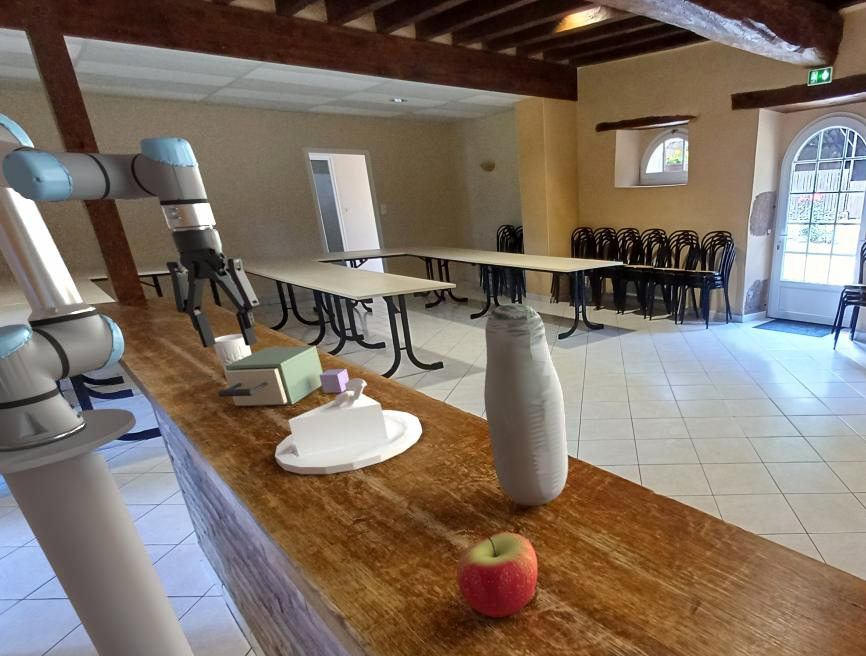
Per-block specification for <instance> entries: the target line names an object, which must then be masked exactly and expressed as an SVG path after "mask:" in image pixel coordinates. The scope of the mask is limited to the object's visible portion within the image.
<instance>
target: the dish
mask: <svg viewBox="0 0 866 656" xmlns="http://www.w3.org/2000/svg"><path fill="white" fill-rule="evenodd" d="M367 385H368V384H367V382H366V381H365V380H364V379H363V378H361V377H354V378H352V379H349V381H348V382H347V383H345V387H346V390H344V391H343V392H340V393H338V395H336V396H335V397H334V398H335V399H334V400H332V401H330V402H327V403H325V404H323V405H319V406H317V407H316V408H313V409H311V410H308V411H306V412H304V413H302V414H299V415H297V416H294V417H292V418H290V419H288V420H287V421H288V424H289V428H290V431H291V434H290V435H287V436H286V437H285V438H284V439H282V441H281V442H280V443H279V444H277V445H276V449H275V452H274V458H275V461H276V463H277V464H278V465H279V466H280V467H281V468H282V469H283V470H284V471H287V472H291V473H295V474H299V475H331V474H335V473H342V472H350V471H355V470H358V469H362V468H365V467H366V468H367V467H369V466H372V465H375V464H378V463H382V462H384V461H387V460H389V459H390V458H393V457H396V456H397V455H399V454H402V453H403V452H405V451H406V450H408V449H409V448H410V447H412V446H413V445H415V444H416V443H417V442H418V440H419V439H420V437H421V435H422V433H423V429H422V425H421V422H420V420H419V418H418V417H417V416H415V415H413V414H412V413H409V412H407V411H400V410H392V409H385V410H384V409H383V408H382V405H381V403H380V402H378V401H377V400H374V399H373V398H370V397H369V396H366V395H365V394H363V390H364V388H365V387H366V386H367Z"/></svg>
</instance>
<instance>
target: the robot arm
mask: <svg viewBox="0 0 866 656" xmlns="http://www.w3.org/2000/svg"><path fill="white" fill-rule="evenodd" d="M139 146H140V152H141V153H125V154H123V153H122V154H121V153H94V152H93V153H89V152H87V153H86V152H64V151H54V150H46V149H42V148H38V147H35V145H34V144H33V142H32V140H31V139H30V137H29V136H28V134H27V133H26V132H25V130H24V129H23V128H22V127H20V125H19V124H18V123H16V122H15V120H13V119H11V118H9V117H8V116H7V115H5V114H3V113H0V251H1V253H2V255H3V257H4V259H5V261H6V263H7V265H8V266H9V268H10V270H11V272H12V274H13V276H14V278H15V280H16V282H17V284H18V287H20V289H21V291H22V293H23V295H24V297H25V299H26V301H27V303H28V305H29V307H30V309H31V313H30V314H29V316H28V318H27V319H26V321H27V322H28V324H29V325H27V324H25V323H18V324H17V323H15V324H7V325H4V326H0V452H11V451H19V450H25V449H31V448H35V447H40V446H43V445H47V444H51V443H54V442H57V441H60V440H63V439H66V438H69V437H71V436H73V435H75V434H77V433H79V432H81V431H83V430H84V429H85V428H86V427H87V425H86V422H85V420H84V419H83V417H82V416H81V415H80V414H78V411H77V410H76V406H74V404H72V403H69V402H68V400H66V399H65V397H63V396H62V394H61V391H60V390H59V388H58V386H57V383H56V382H57V381H58V382H59V381H62V380H65V379H69V378H72V377H75V376H78V375H82V374H86V373H89V372H92V371H99V370H102V369H104V368H106V367H109V366H112V365H115V364H116V363H117V362H118V361H119V360H121V358H122V356H123V354H124V351H125V340H124V336H123V334H122V331H121V329H120V327H119V326H118V324H117V323H116V322H114V321H113V319H112V318H111V317H109V316H107V315H104V314H99V312H98V310H97V308H96V307H95V306H93V305H90V304H89V303H86V302H85V301H84V300H83V298H82V296H81V294H80V292H79V290H78V287H77V286H76V284H75V282H74V280H73V278H72V276H71V273H70V272H69V270H68V268H67V265H66V264H65V262H64V259H63V257H62V256H61V253H60V250H59V249H58V247H57V245H56V243H55V241H54V239H53V237H52V235H51V233H50V230H49V229H48V226H47V224H46V223H45V220H44V218H43V216H42V214H41V212H40V210H39V208H38V206H37V204H36V202H46V203H48V202H49V203H59V202H65V201H66V202H67V201H69V202H70V201H88V200H90V201H91V200H124V201H125V200H129V201H130V200H135V201H136V200H140V199H148V198H157V199H158V200H159V201H158V202H159V205H160V207H161V211H162V212H163V216H164V219H165V222H166V224H167V227H168V228H169V229H172V231H171V232H170V237H171V240H172V243H173V246H174V248H175V249H174V250H176V252H178V253H179V260H173V261H172V260H171V261H167V262H166V263H165V265H166V267H167V270H168V271H169V274H170V277H171V282H172V290H173V294H174V300H175V306H176V311H177V312H178V313H180V314H182V313H183V314H187V315H188V316H189V318H190V320H191V321H190V322H191V323H192V327H193V329H194V330H195V332H197V333H198V336H199V338H200V341H201V345H202V347H203V348H209V347H212V346H214V345H215V344H216V342H215V336H214V333H213V330H212V327H211V324H210V321H209V317H208V315H207V313H206V312H204V311H205V310H203V309H202V307H203V298H204V297H203V296H204V285H205V282H207V280H212V281H213V282H214V283H216V284H217V285H218V286H219V287H220V289H221V290H222V291H223V293H224V294H225V295H226V296H227V297H228V299H229V300H230V302H231V303H232V304H233V305H234V307H235V308H236V309H237V310H238V311H237V312H236V313H235V316H236V320H237V322H238V326H239V328H240V332H241V334H242V336H243V339H244V342H245V345H246V346H252V345H254V344H256V343H258V339H257V336H256V331H255V329H254V328H255V327H256V322H255V319H254V315H253V310H254V309H256V308H259V307H260V302H259V300H258V297H257V296H256V294H255V291H254V289H253V288H252V286H251V285H252V284H251V283H250V281H249V278H248V277H247V274H246V272H245V270H244V268H243V261H242V259H241V257H237V256H236V257H227V256H226V255H225V254H224V253H223V250H222V247H223V244H222V240H221V238H220V237H221V236H220V235H219V231H218V229H217V228H214V227H213V226H215V225H216V220H215V218H214V214H213V211H212V208H211V204H210V201H209V199H208V196H207V193H206V189H205V186H204V183H203V179H202V176H201V173H200V169H199V163H198V162H197V159H196V156H195V154H194V152H193V148H192V146H191V144H190V142H189V141H187V140H186V139H183V138H181V137H170V136H169V137H167V136H166V137H164V136H163V137H162V136H160V137H158V136H157V137H146V138H142V139H140V141H139ZM227 269H228V271H227ZM186 271H187V272H186Z"/></svg>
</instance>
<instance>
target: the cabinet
mask: <svg viewBox="0 0 866 656" xmlns="http://www.w3.org/2000/svg"><path fill="white" fill-rule="evenodd" d="M269 367H278V368H279V372H280V375H281V379H282V382H283V385H284V389H285V392H286V396H287V402H286V403H285V404H264V405H238V407H263V406H288V405H289V406H292V405H295V404H296V403H297V402H299V401H301V400H302V399H303V398H305V397H306V396H308V395H309V394H312V393H313V392H314V391H316V390H317V389H319V388H320V387H322V384H321V380H320V376H319V375H321V374H322V373H324V372H323V368H322V364H321V361H320V357H319V353H318V350H317V346H316V345H301V346H300V345H299V346H297V345H296V346H295V345H294V346H275V347H264V348H262V349H260V350H258V351H256V352H254V353H251V355H249V356H246V357H244V358H242V359H240V360H237V361H235V362H233V363H231V364H229V365H226V369H227V370H235V369H244V368H269Z"/></svg>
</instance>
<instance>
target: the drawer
mask: <svg viewBox="0 0 866 656" xmlns="http://www.w3.org/2000/svg"><path fill="white" fill-rule="evenodd" d="M223 372H224V371H223ZM224 377H225V378H226V379H225V380H226V382H227V385H228V388H226V389H218V392H217V394H218V396H219V397H221V398H226V397H227V398H229V397H230V398H232V400H233V403H234V406H235V407H237V406H239V405H264V404H285V403H286V402H287V396H286V392H285V389H284V385H283V382H282V379H281V375H280V372H279V368H278V367H269V368H244V369H235V370H227V371H225V372H224Z"/></svg>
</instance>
